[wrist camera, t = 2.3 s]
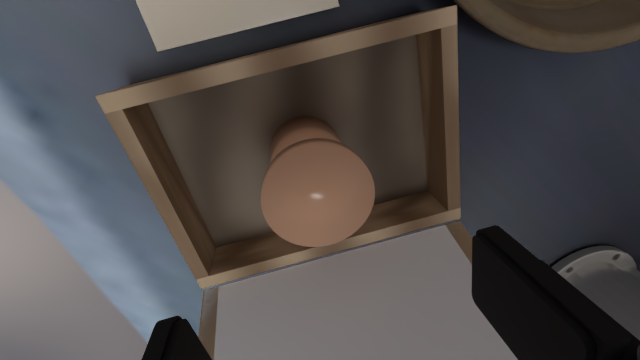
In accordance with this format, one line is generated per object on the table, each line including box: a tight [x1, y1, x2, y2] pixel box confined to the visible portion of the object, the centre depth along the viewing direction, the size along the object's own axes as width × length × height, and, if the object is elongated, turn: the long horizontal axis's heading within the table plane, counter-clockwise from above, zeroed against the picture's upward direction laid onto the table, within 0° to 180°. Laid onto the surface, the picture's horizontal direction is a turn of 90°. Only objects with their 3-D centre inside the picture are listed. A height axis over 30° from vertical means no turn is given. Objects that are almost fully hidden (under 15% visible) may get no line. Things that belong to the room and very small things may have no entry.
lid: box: [198, 221, 518, 360], centre depth 18 cm, size 21×15×1 cm
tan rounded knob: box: [261, 116, 375, 247], centre depth 20 cm, size 6×6×8 cm
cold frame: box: [95, 5, 461, 289], centre depth 22 cm, size 21×15×4 cm
